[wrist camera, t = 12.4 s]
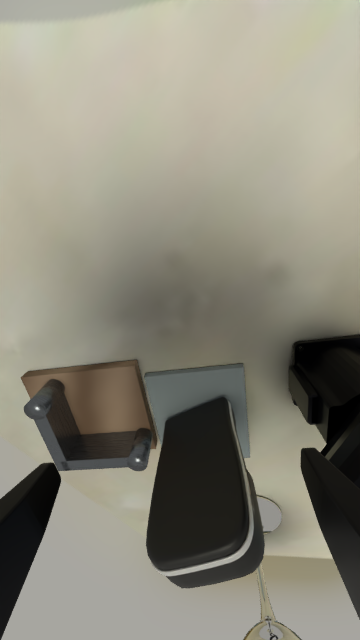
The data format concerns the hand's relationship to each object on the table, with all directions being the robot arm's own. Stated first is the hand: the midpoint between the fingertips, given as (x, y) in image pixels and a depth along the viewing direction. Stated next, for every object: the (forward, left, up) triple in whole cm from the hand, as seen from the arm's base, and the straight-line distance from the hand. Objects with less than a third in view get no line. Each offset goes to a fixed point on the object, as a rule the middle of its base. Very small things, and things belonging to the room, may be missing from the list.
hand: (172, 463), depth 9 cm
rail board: (+11, +8, -13) cm, 19 cm away
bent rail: (+9, +8, -12) cm, 17 cm away
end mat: (0, +10, -13) cm, 16 cm away
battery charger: (0, +10, -13) cm, 16 cm away
